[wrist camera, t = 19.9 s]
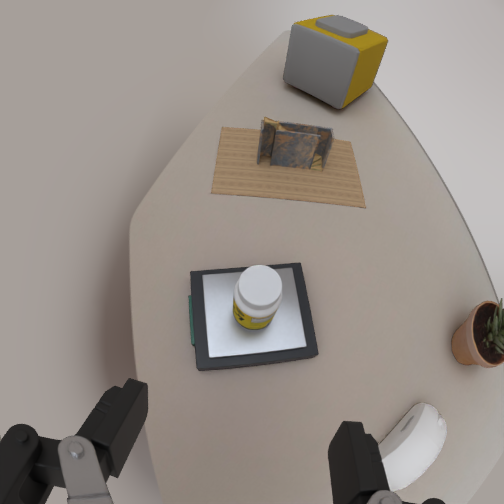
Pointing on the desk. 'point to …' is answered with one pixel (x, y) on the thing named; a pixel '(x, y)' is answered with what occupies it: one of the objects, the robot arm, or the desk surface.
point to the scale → (249, 360)
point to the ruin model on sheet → (287, 164)
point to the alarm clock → (333, 58)
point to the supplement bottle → (257, 297)
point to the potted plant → (481, 336)
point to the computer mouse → (412, 445)
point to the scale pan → (242, 340)
